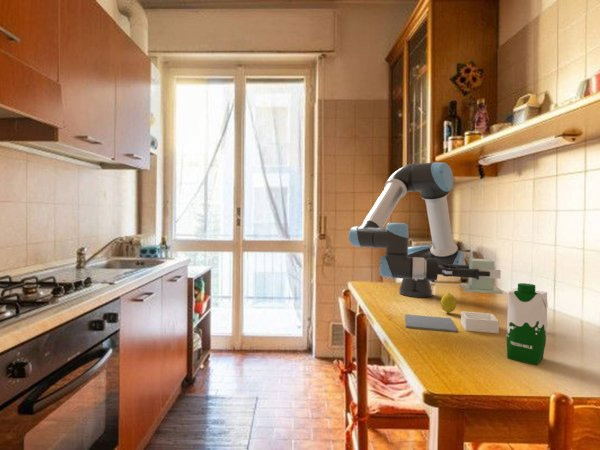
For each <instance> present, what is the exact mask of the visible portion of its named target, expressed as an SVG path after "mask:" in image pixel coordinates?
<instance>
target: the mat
mask: <svg viewBox="0 0 600 450" xmlns="http://www.w3.org/2000/svg"><path fill="white" fill-rule="evenodd" d="M404 316H405V317H404V318H405V328H408V329H416V330H417V329H418V330H419V329H420V330H428V331H429V330H430V331H439V332H440V331H441V332H448V333H449V332H452V333H458V329H457V327H456V325H455V324H454V322H453V319H452V317H445V316H444V317H441V316H429V315H428V316H427V315H418V314H417V315H416V314H406V313H405V314H404Z"/></svg>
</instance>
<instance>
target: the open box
mask: <svg viewBox="0 0 600 450" xmlns="http://www.w3.org/2000/svg"><path fill="white" fill-rule="evenodd" d="M460 324H461V326H462V327H463V328H464V331H466V332H467V331H469V332H477V333H478V332H479V333H490V334H500V321H499V320H498V318H497V317H496V316H495V315H494V314H493V313H487V312H486V313H485V312H476V311H475V312H473V311H464V310H463V311H460Z"/></svg>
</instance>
